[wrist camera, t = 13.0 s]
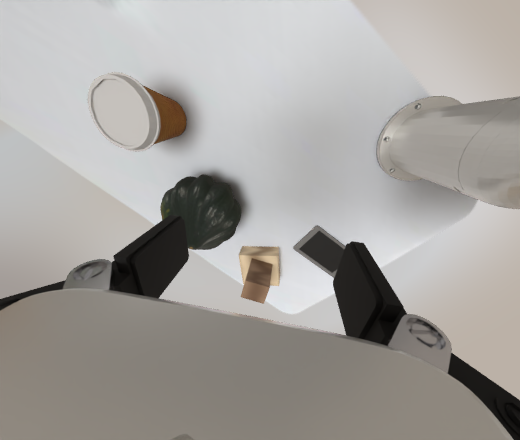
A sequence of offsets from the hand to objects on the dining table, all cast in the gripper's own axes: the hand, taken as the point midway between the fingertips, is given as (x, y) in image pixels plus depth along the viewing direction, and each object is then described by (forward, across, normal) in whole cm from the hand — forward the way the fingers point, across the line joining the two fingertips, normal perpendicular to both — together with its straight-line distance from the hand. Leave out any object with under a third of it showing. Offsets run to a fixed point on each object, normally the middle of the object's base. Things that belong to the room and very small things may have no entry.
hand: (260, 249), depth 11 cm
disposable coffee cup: (+28, +22, -6) cm, 36 cm away
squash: (+29, +14, +10) cm, 33 cm away
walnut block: (+25, +2, +24) cm, 34 cm away
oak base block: (+29, +2, +24) cm, 38 cm away
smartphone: (+29, -14, +19) cm, 37 cm away
